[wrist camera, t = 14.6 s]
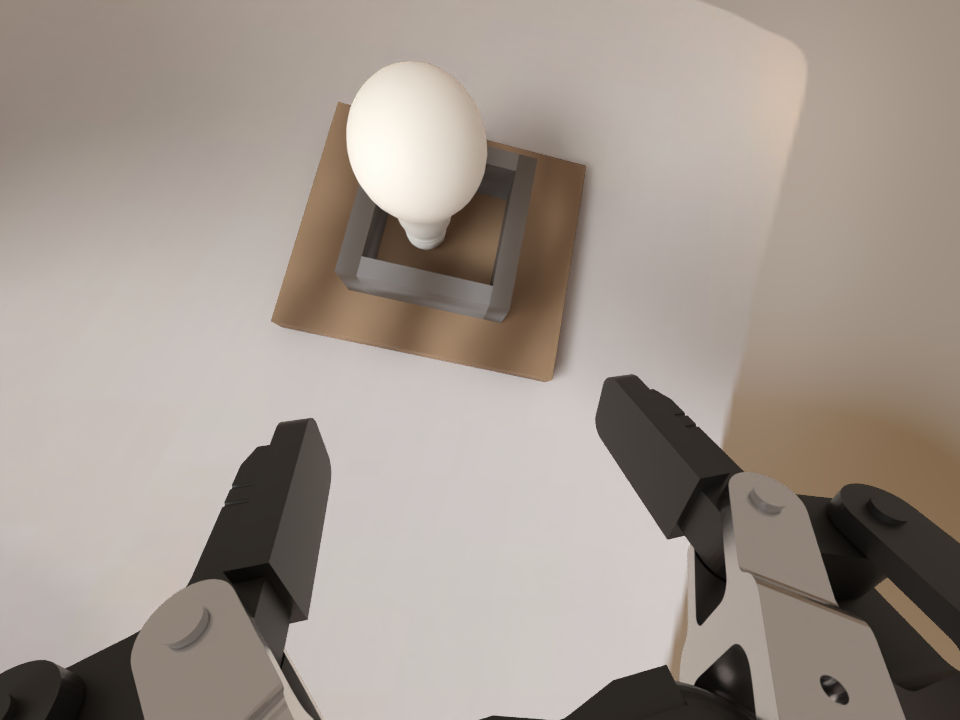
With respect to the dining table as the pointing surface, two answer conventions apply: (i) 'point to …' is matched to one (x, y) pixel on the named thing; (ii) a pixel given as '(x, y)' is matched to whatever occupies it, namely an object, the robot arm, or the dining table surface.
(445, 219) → the lightbulb
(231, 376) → the dining table surface
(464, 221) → the bulb holder
